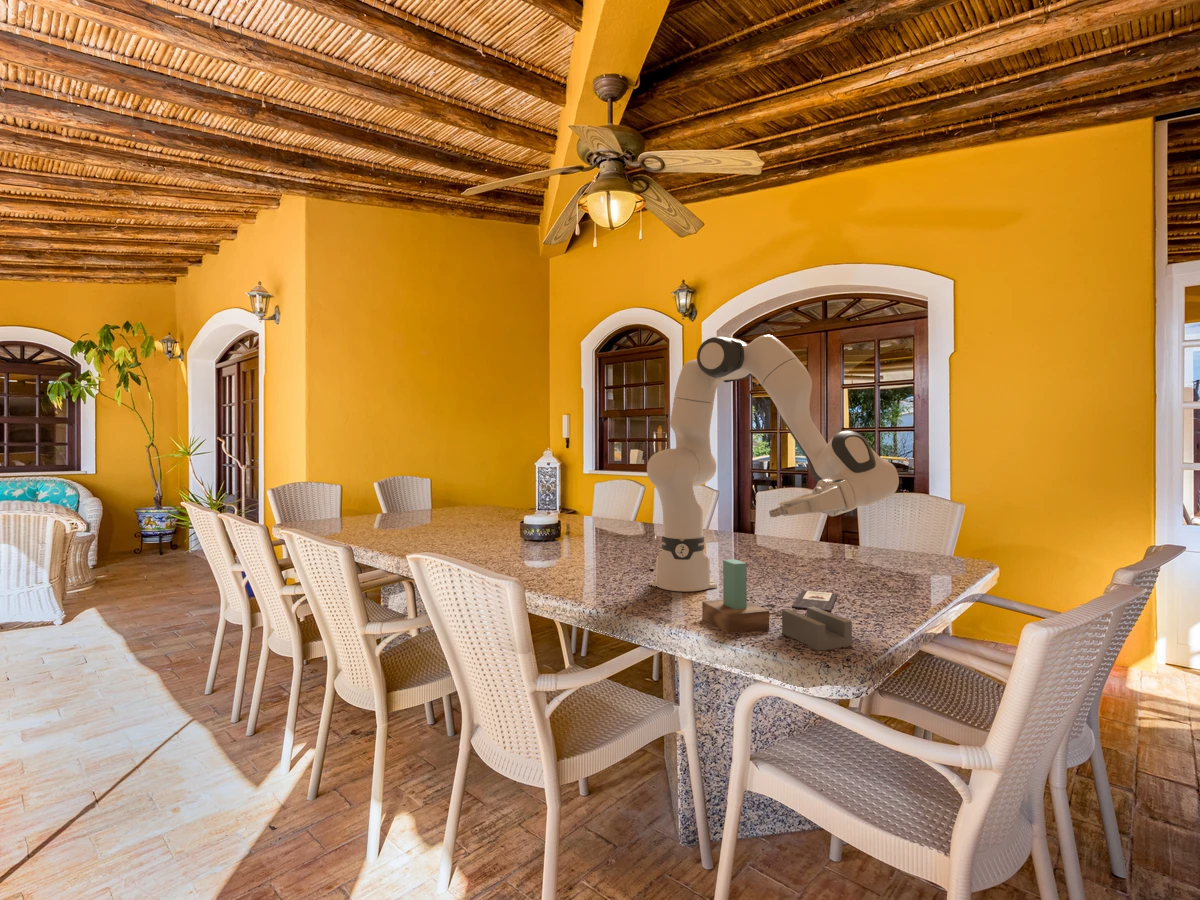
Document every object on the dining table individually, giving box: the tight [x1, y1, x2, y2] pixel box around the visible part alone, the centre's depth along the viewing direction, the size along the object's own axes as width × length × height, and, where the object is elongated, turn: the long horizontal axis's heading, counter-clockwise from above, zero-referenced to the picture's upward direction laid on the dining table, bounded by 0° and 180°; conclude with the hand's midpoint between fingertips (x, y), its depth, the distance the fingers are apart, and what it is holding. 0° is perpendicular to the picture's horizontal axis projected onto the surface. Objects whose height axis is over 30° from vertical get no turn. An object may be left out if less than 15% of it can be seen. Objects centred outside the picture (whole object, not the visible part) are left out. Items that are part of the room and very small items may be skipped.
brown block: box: [701, 599, 770, 635], centre depth 142 cm, size 12×10×4 cm
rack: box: [781, 607, 853, 652], centre depth 131 cm, size 12×8×5 cm, turn 18°
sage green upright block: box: [722, 559, 748, 609], centre depth 142 cm, size 5×3×10 cm, turn 18°
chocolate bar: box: [791, 589, 838, 613], centre depth 162 cm, size 9×1×18 cm
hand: (778, 513), depth 145 cm, fingers open, 8 cm apart
